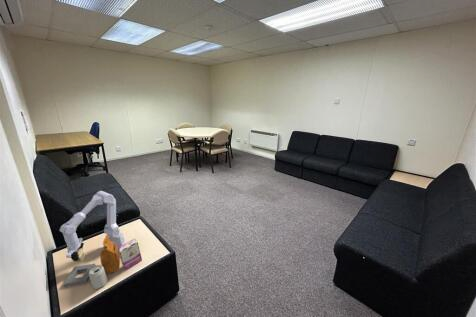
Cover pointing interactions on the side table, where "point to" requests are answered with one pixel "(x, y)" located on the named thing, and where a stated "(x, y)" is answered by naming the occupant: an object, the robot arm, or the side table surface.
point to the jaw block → (79, 255)
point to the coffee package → (110, 256)
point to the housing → (80, 280)
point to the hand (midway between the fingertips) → (78, 257)
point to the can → (98, 276)
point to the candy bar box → (129, 254)
